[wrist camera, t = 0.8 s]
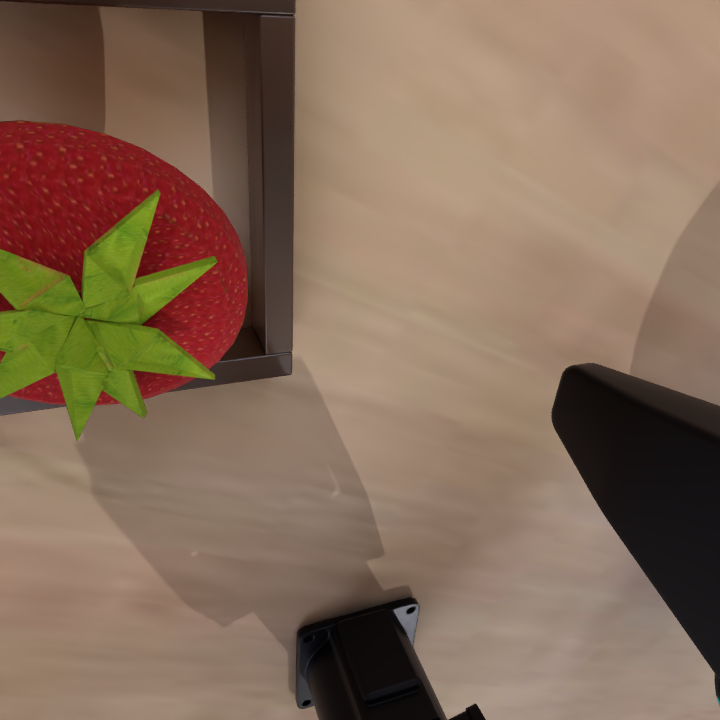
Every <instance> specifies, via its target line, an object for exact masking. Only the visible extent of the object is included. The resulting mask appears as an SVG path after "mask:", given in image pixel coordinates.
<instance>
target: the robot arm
mask: <svg viewBox="0 0 720 720" xmlns="http://www.w3.org/2000/svg"><path fill="white" fill-rule="evenodd" d="M551 417H552V423H553V426H554V428H555V430H556V432H557V434H558V436H559V438H560V439H561V441H562V443H563V445H564V446H565V448H566V450H567V452H568V453H569V455H570V457H571V459H572V460H573V462H574V464H575V466H576V467H577V469H578V471H579V473H580V475H581V476H582V478H583V480H584V482H585V483H586V485H587V487H588V489H589V490H590V492H591V494H592V496H593V497H594V499H595V501H596V502H597V504H598V506H599V507H600V509H601V511H602V512H603V514H604V515H605V517H606V518H607V520H608V521H609V523H610V524H611V526H612V527H613V529H614V530H615V531H616V533H617V534H618V536H619V537H620V539H621V540H622V541H623V543H624V544H625V546H626V547H627V549H628V550H629V551H630V553H631V554H632V556H633V557H634V559H635V560H636V561H637V563H638V564H639V566H640V567H641V568H642V570H643V571H644V573H645V574H646V576H647V577H648V578H649V580H650V581H651V583H652V584H653V586H654V587H655V588H656V590H657V591H658V593H659V594H660V596H661V597H662V598H663V600H664V601H665V603H666V604H667V606H668V607H669V608H670V610H671V611H672V613H673V614H674V615H675V617H676V618H677V620H678V621H679V623H680V624H681V625H682V627H683V628H684V630H685V631H686V633H687V634H688V635H689V637H690V638H691V640H692V641H693V643H694V644H695V645H696V647H697V648H698V650H699V651H700V652H701V654H702V655H703V657H704V658H705V660H706V661H707V662H708V664H709V665H710V667H711V668H712V670H713V671H714V672H715V674H716V675H717V677H718V678H719V680H720V406H718V405H715V404H712V403H709V402H706V401H703V400H701V399H698V398H695V397H692V396H689V395H686V394H683V393H680V392H677V391H674V390H671V389H669V388H666V387H663V386H660V385H657V384H654V383H651V382H648V381H645V380H642V379H639V378H637V377H634V376H631V375H628V374H625V373H622V372H619V371H616V370H613V369H610V368H607V367H604V366H602V365H599V364H595V363H585V364H579V365H572V366H569V367H568V368H566V369H565V371H564V372H563V374H562V376H561V380H560V383H559V387H558V390H557V394H556V397H555V401H554V405H553V408H552V416H551ZM418 614H419V604H418V602H417V600H416V599H415V598H407V599H403V600H399V601H396V602H392V603H388V604H385V605H381V606H377V607H374V608H370V609H367V610H363V611H359V612H356V613H352V614H348V615H345V616H341V617H337V618H334V619H330V620H326V621H323V622H319V623H315V624H312V625H308V626H305V627H303V628H301V629H300V630H299V631H298V632H297V644H296V702H297V706H298V708H300V709H305V708H308V707H312V706H315V709H316V712H317V715H318V718H319V720H447V718H446V716H445V714H444V712H443V710H442V707H441V705H440V703H439V701H438V699H437V697H436V695H435V693H434V690H433V688H432V686H431V684H430V682H429V680H428V678H427V676H426V673H425V671H424V669H423V667H422V665H421V663H420V661H419V659H418V657H417V654H416V652H415V650H414V648H413V643H414V637H415V631H416V626H417V620H418ZM449 720H486V719H485V718H484V716H483V714H482V713H481V711H480V709H479V708H478V706H477V704H474V705H472V706H470V707H468V708H466V711H465V712H463V713H461V714H459V715H457V716H455V717H453V718H451V719H449Z"/></svg>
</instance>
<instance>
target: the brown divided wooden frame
mask: <svg viewBox="0 0 720 720" xmlns="http://www.w3.org/2000/svg"><path fill="white" fill-rule="evenodd" d="M0 2H21V3H42V4H63V5H84V6H105V7H126V8H147V9H168V10H189V11H210V12H231V13H244V36H245V71H246V105H247V140H248V174H249V209H250V243H251V278H252V312H253V327H252V328H243V329H240V331H239V333H238V335H237V337H236V339H235V341H234V343H233V345H232V346H231V347H230V348H229V349H228V351H227V352H226V353H225V354H224V355H223V356H222V358H221V359H220V360H219V361H218V362H217V363H216V364H214V365H213V366H212V367H210V368H209V370H210V371H211V372H212V373H214V374H215V380H213V379H205V378H195V379H193V380H191V381H189V382H187V383H186V384H184V385H182V386H180V387H178V388H176V389H173V390H170V391H168V392H172V391H179V390H186V389H193V388H200V387H207V386H215V385H222V384H229V383H236V382H243V381H250V380H257V379H264V378H271V377H279V376H286V375H291V374H292V352H291V351H292V348H293V227H294V107H295V17H294V16H293V15H295V0H0ZM65 406H66V405H60V404H48V403H42V402H36V401H30V400H25V399H19V398H14V397H11V396H5V397H3V398H1V399H0V416H1V415H8V414H15V413H22V412H30V411H37V410H44V409H51V408H58V407H65Z"/></svg>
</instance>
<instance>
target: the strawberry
mask: <svg viewBox="0 0 720 720" xmlns="http://www.w3.org/2000/svg"><path fill="white" fill-rule="evenodd" d="M247 302H248V278H247V264H246V258H245V255H244V252H243V249H242V246H241V243H240V240H239V237H238V235H237V233H236V231H235V230H234V228H233V226H232V225H231V223H230V221H229V220H228V218H227V216H226V215H225V213H224V212H223V210H222V209H221V208H220V207H219V206H218V205H217V204H216V203H215V202H214V200H213V199H212V198H211V197H210V196H209V195H208V194H207V193H206V192H205V190H204V189H203V188H201V187H200V186H199V185H197V184H196V183H195V182H194V181H192V180H191V179H190V178H188V177H187V176H186V175H184V174H183V173H182V172H180V171H179V170H178V169H177V168H175V167H173V166H172V165H170V164H168V163H167V162H165V161H163V160H162V159H160V158H158V157H156V156H155V155H153V154H151V153H150V152H148V151H146V150H144V149H143V148H140V147H137V146H135V145H132V144H130V143H127V142H125V141H122V140H119V139H117V138H114V137H112V136H109V135H107V134H103V133H99V132H95V131H91V130H86V129H82V128H78V127H74V126H69V125H65V124H56V123H44V122H33V121H22V120H21V121H5V122H0V399H1V398H3V397H5V396H11V397H14V398H19V399H25V400H30V401H36V402H42V403H48V404H60V405H66V406H67V409H68V413H69V416H70V419H71V423H72V426H73V430H74V433H75V437H76V440H77V441H78V439H79V437H80V435H81V433H82V431H83V428H84V426H85V424H86V422H87V420H88V418H89V416H90V414H91V412H92V410H93V408H94V406H95V405H107V404H119V403H122V404H123V405H125V406H126V407H128V408H129V409H131V410H132V411H134V412H135V413H137V414H138V415H140V416H141V417H143V418H144V417H145V416H146V414H147V411H146V408H145V405H144V402H143V399H146V398H150V397H153V396H156V395H159V394H162V393H165V392H168V391H170V390H173V389H176V388H178V387H180V386H182V385H184V384H186V383H187V382H189V381H191V380H193V379H195V378H205V379H213V380H215V374H214V373H212V372H211V371H210V370H209V368H210V367H212V366H213V365H214V364H216V363H217V362H218V361H219V360H220V359H221V358H222V356H223V355H224V354H225V353H226V352H227V351H228V349H229V348H230V347H231V346H232V345H233V343H234V341H235V339H236V337H237V335H238V333H239V331H240V329H241V327H242V325H243V322H244V317H245V312H246V307H247Z"/></svg>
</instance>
